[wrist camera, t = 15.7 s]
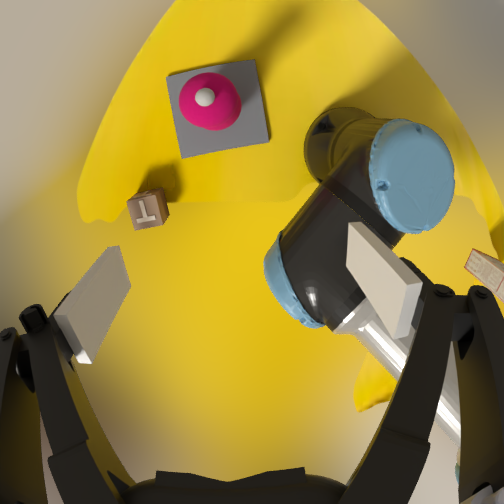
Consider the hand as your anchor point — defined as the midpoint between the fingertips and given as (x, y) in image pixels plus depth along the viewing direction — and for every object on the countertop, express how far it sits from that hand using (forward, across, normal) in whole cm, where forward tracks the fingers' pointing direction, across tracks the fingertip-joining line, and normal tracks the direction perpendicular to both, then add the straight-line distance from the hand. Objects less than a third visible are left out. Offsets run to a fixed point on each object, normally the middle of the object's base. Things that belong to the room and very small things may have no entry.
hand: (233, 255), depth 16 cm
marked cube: (+32, +15, +5) cm, 36 cm away
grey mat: (+32, +2, -10) cm, 34 cm away
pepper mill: (+32, +2, -10) cm, 33 cm away
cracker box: (+33, -61, +25) cm, 74 cm away
